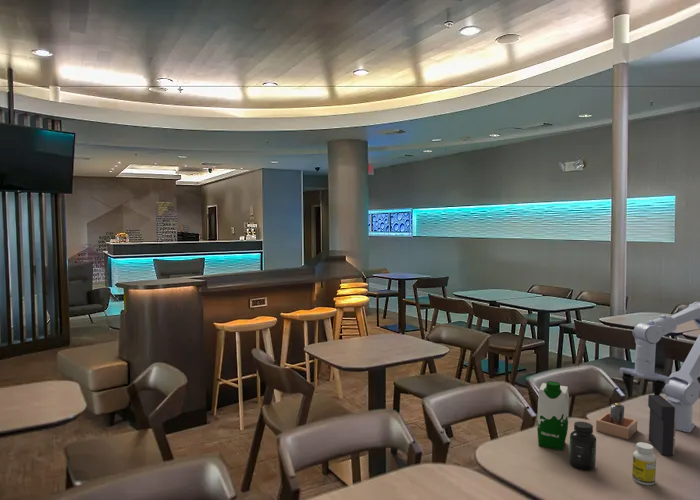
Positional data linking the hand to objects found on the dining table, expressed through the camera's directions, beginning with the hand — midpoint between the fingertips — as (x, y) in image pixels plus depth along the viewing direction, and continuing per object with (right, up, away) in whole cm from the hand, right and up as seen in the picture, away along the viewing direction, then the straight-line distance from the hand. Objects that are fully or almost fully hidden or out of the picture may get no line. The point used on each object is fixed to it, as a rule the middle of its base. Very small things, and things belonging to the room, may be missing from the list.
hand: (642, 399), depth 171 cm
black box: (-2, -11, -13) cm, 18 cm away
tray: (-9, -10, 0) cm, 14 cm away
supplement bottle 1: (-32, -12, -25) cm, 42 cm away
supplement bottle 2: (-19, -12, -33) cm, 40 cm away
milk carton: (-35, -11, -11) cm, 38 cm away
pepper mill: (-9, -10, 0) cm, 13 cm away
